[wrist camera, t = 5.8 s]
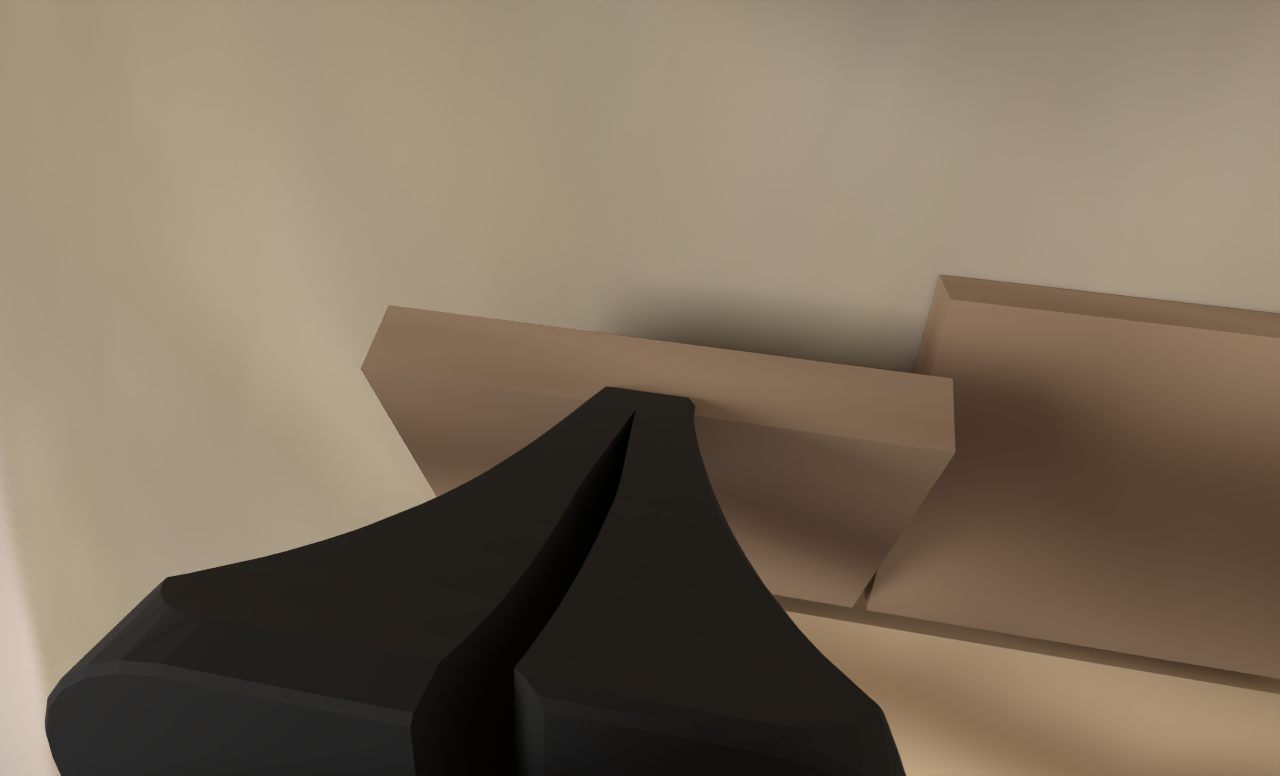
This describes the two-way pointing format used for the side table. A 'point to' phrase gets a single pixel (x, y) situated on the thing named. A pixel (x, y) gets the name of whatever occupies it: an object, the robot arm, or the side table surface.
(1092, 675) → the laid oak row
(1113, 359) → the plank
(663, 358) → the plank
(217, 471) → the side table surface
